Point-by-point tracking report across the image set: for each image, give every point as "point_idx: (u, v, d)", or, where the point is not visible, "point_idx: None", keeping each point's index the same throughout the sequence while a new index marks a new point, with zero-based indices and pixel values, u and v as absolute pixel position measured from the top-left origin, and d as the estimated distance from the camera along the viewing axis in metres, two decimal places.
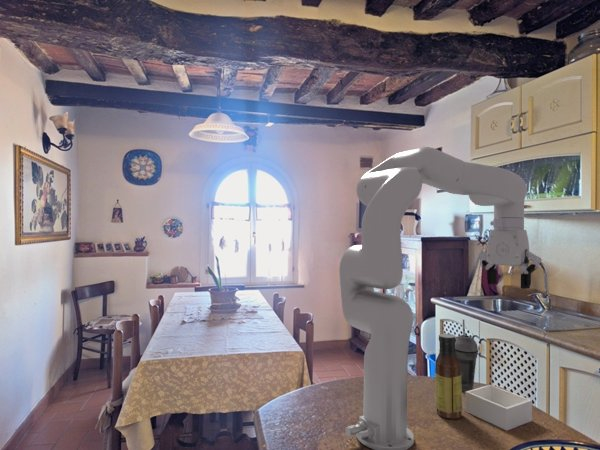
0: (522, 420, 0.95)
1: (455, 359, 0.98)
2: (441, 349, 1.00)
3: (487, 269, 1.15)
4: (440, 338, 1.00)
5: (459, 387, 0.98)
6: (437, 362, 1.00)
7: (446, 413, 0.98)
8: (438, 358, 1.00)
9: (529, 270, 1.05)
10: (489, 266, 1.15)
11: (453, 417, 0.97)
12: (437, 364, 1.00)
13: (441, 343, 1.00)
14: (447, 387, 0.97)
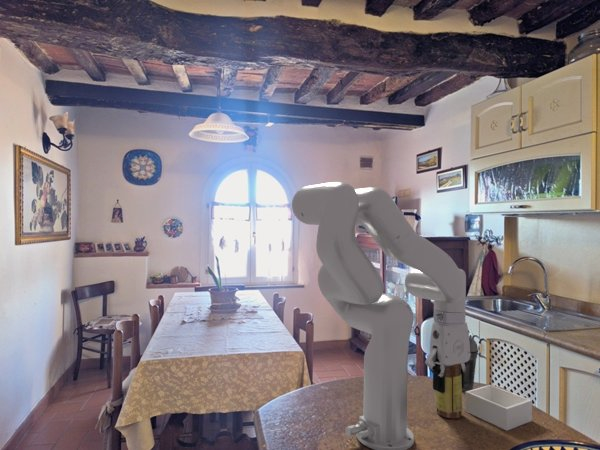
0: (522, 420, 0.95)
1: None
2: None
3: (441, 376, 0.97)
4: None
5: (459, 387, 0.98)
6: None
7: (446, 413, 0.98)
8: None
9: (464, 366, 1.02)
10: (443, 372, 0.97)
11: (453, 417, 0.97)
12: None
13: None
14: (447, 387, 0.97)
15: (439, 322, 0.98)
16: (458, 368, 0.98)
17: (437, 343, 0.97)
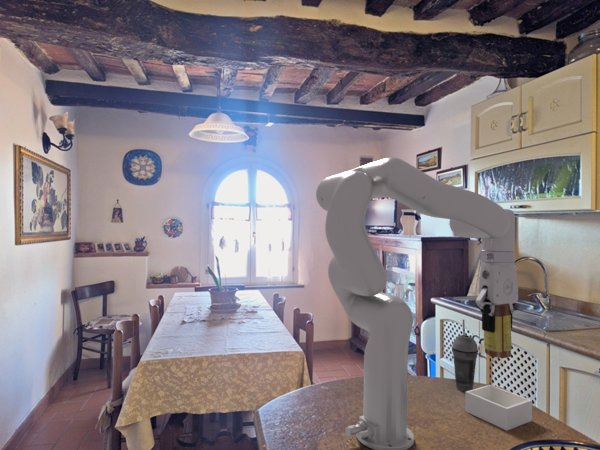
0: (522, 420, 0.95)
1: None
2: None
3: (491, 315, 0.97)
4: None
5: (509, 326, 0.98)
6: None
7: (496, 352, 0.98)
8: None
9: None
10: (493, 311, 0.97)
11: (504, 356, 0.97)
12: None
13: None
14: (497, 326, 0.97)
15: (488, 262, 0.98)
16: (508, 307, 0.98)
17: (487, 282, 0.97)
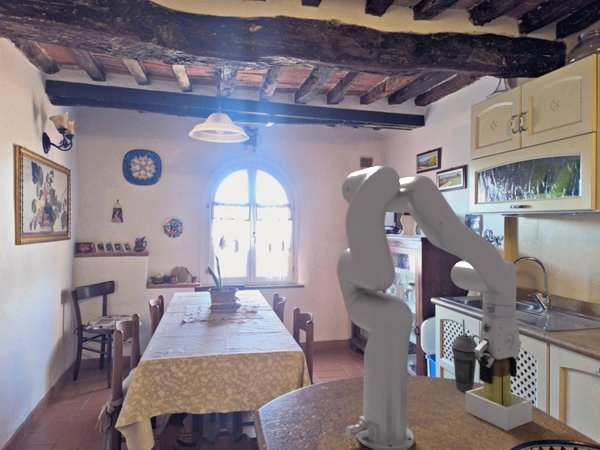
0: (522, 420, 0.95)
1: None
2: None
3: (488, 366, 0.96)
4: None
5: (509, 386, 0.97)
6: None
7: None
8: (487, 357, 1.00)
9: None
10: (491, 362, 0.96)
11: None
12: None
13: None
14: (497, 386, 0.97)
15: (490, 315, 0.98)
16: (508, 367, 0.97)
17: (488, 336, 0.97)
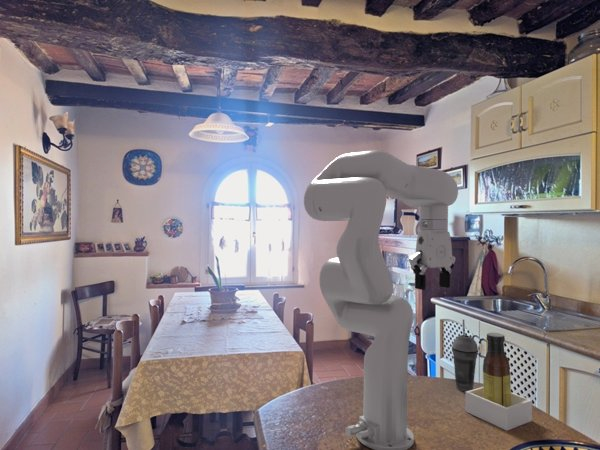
0: (522, 420, 0.95)
1: (504, 358, 0.98)
2: (490, 348, 0.99)
3: (421, 274, 1.07)
4: (489, 337, 0.99)
5: (509, 386, 0.97)
6: (486, 361, 0.99)
7: None
8: (486, 357, 1.00)
9: None
10: (424, 270, 1.07)
11: None
12: (486, 363, 0.99)
13: (490, 342, 0.99)
14: (497, 386, 0.97)
15: (424, 229, 1.09)
16: (508, 367, 0.97)
17: (422, 247, 1.07)
